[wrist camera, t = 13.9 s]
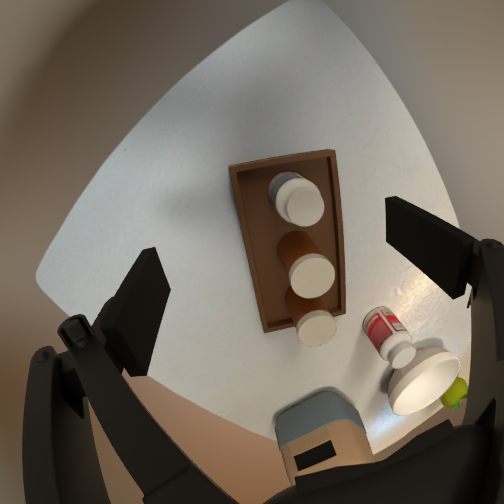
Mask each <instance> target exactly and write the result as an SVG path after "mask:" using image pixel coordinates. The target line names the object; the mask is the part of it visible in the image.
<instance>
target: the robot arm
mask: <svg viewBox="0 0 504 504" xmlns="http://www.w3.org/2000/svg"><path fill="white" fill-rule="evenodd" d="M385 206H386V242H387V243H389V244H390V245H391V246H392V247H394V248H395V249H396V250H397V251H398V252H400V253H401V254H402V255H403V256H404V257H406V258H407V259H408V260H409V261H410V262H412V263H413V264H414V265H415V266H416V267H418V268H419V269H420V270H421V271H422V272H423V273H424V274H426V275H427V276H428V277H429V278H430V279H431V280H432V281H433V282H435V283H436V284H437V285H438V286H439V287H440V288H441V289H442V290H443V291H445V292H446V293H447V294H448V295H449V296H450V297H451V298H452V299H456V298H458V297H460V296H462V295H464V294H465V290H466V285H467V283H468V284H470V285H471V286H472V289H471V293H470V297H469V301H468V305H467V308H469V306H470V305H471V364H470V377H469V387H468V395H467V403H466V410H465V415H464V419H463V421H462V424H461V425H458V426H452V424H451V422H450V421H449V419H447V420H446V421H444V422H442V423H440V424H439V425H437V426H435V427H433V428H431V429H429V430H427V431H425V432H423V433H421V434H419V435H417V436H416V437H415V438H413V439H412V440H411V441H410V442H408V443H407V444H406V445H404V446H403V447H402V448H401V449H399V450H398V451H396V452H395V453H393V454H392V455H391V456H389V457H388V458H386V459H385V460H383V461H379V462H372V463H365V464H356V465H346V466H336V467H333V468H329V469H325V470H321V471H318V472H313V473H309V474H305V475H300V476H296V477H294V479H295V485H293V486H291V487H289V488H286V489H285V490H283V491H281V492H279V493H277V494H276V495H274V496H273V497H271V498H270V499H268V500H267V501H266V502H265V503H263V504H504V245H503V244H502V243H501V242H499V241H496V240H494V239H483V240H482V241H479V240H477V239H475V238H474V237H472V236H470V235H469V234H467V233H465V232H463V231H462V230H460V229H458V228H457V227H455V226H453V225H451V224H450V223H448V222H446V221H444V220H442V219H440V218H439V217H437V216H435V215H433V214H431V213H429V212H427V211H425V210H423V209H421V208H419V207H417V206H415V205H413V204H411V203H409V202H407V201H405V200H403V199H401V198H399V197H397V196H393V197H387V198H385ZM170 291H171V289H170V286H169V284H168V281H167V278H166V276H165V273H164V270H163V268H162V265H161V262H160V259H159V257H158V254H157V251H156V248H155V247H152V248H148V249H144V250H142V252H141V253H140V255H139V256H138V258H137V259H136V261H135V263H134V264H133V266H132V267H131V269H130V271H129V272H128V274H127V276H126V277H125V279H124V280H123V282H122V284H121V285H120V287H119V289H118V291H117V292H116V294H115V296H114V297H111V298H110V299H109V300H108V301H107V302H106V303H105V304H104V306H103V307H102V309H101V312H99V314H98V317H97V318H96V319H95V321H94V323H93V325H92V327H91V326H90V324H89V322H88V320H87V319H86V317H85V316H84V315H82V314H78V315H74V316H72V317H70V318H68V319H66V320H65V321H64V322H63V323H62V324H61V325H60V327H59V328H58V335H59V336H60V338H61V339H62V341H63V342H64V344H65V345H66V347H67V348H68V350H69V351H66V352H63V353H60V354H57V352H56V351H55V350H54V348H53V347H52V346H46V347H43V348H41V349H39V350H38V351H36V352H35V354H34V356H33V357H32V359H31V363H30V368H29V374H28V381H27V388H26V396H25V406H24V418H23V439H22V461H23V481H24V493H25V501H26V504H111V503H110V500H109V497H108V493H107V490H106V487H105V483H104V480H103V476H102V472H101V468H100V464H99V460H98V456H97V451H96V446H95V442H94V436H93V431H92V425H91V419H90V413H89V406H88V400H89V402H90V404H91V406H92V408H93V410H94V412H95V414H96V416H97V418H98V420H99V422H100V424H101V426H102V428H103V430H104V432H105V433H106V435H107V437H108V439H109V441H110V442H111V444H112V446H113V447H114V449H115V451H116V453H117V454H118V456H119V458H120V459H121V461H122V462H123V464H124V466H125V467H126V469H127V470H128V471H129V473H130V474H131V476H132V478H133V479H134V480H135V482H136V483H137V485H138V486H139V487H140V489H141V490H142V492H143V493H144V498H143V499H142V500H143V503H144V504H239V503H238V502H237V501H236V500H235V499H233V498H232V497H231V496H230V495H228V494H227V493H226V492H225V491H224V490H223V489H221V488H220V487H219V486H218V485H217V484H216V483H215V482H214V481H213V480H212V479H210V478H209V477H208V476H207V475H206V474H205V473H204V472H203V471H202V470H201V469H200V468H199V467H198V466H197V465H196V464H195V463H194V462H193V461H192V460H191V459H190V458H189V457H188V456H187V455H186V454H185V453H184V452H183V451H182V450H181V448H180V447H179V446H178V445H177V444H176V443H175V442H174V441H173V440H172V439H171V437H170V436H169V435H168V434H167V433H166V432H165V431H164V430H163V428H162V427H161V426H160V425H159V423H158V422H157V421H156V420H155V419H154V417H153V416H152V415H151V414H150V412H149V411H148V410H147V409H146V407H145V406H144V405H143V403H142V402H141V401H140V399H139V398H138V397H137V395H136V394H135V393H134V391H133V390H132V389H131V387H130V386H129V384H128V383H127V381H126V380H125V379H124V378H123V376H122V371H123V369H124V368H125V369H126V371H127V372H128V374H129V375H130V376H131V377H135V376H147V373H148V369H149V365H150V361H151V357H152V353H153V349H154V346H155V342H156V338H157V335H158V331H159V328H160V324H161V321H162V317H163V314H164V310H165V307H166V304H167V300H168V297H169V294H170Z"/></svg>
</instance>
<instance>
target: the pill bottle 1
mask: <svg viewBox="0 0 504 504" xmlns="http://www.w3.org/2000/svg"><path fill="white" fill-rule="evenodd" d="M268 195H269V199H270V201H271V203H272V204H273V205H274V207H275V209H276V210H277V212H278V213H279V215H280V216H281V217H282V218H283V219H285V220H286V221H288V222H290V223H294V224H296V225H299V226H304V227H305V226H311V225H313V224H315V223H316V222H318V221H319V220H320V218H321V217H322V215H323V212H324V201H323V199H322V197H321V194H320V192H319V190H318V188H317V187H316V186H315V185H314V184H313V183H312V182H310V181H308V180H307V179H305V178H303V177H302V176H300V175H299V174H297V173H294V172H282V173H280V174H278V175H277V176H275V177H274V178H273V179H272V181H271V183H270V185H269V189H268Z"/></svg>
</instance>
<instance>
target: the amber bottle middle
mask: <svg viewBox="0 0 504 504" xmlns="http://www.w3.org/2000/svg"><path fill="white" fill-rule="evenodd" d="M278 252H279V255H280V258H281V260H282V262H283V265H284V267H285V269H286V272H287V274H288V277H289V281H290V284H291V286H292V289H293V290H294V292H295V293H296V294H298V295H299V296H301V297H304V298H315V297H319V296H321V295H323V294H324V293H326V292H327V291H328V290H329V289H330V287H331V286H332V284H333V282H334V279H335V270H334V268H333V266H332V264H331V263H330V261H329V260H328V259H327V258H326V257H325V256H324V255H323V254H322V252H321V251H320V250H319V248H318V247H317V246H316V244H315V243H314V242H313V240H312V239H311V238H310V237H309V235H307V234H306V233H305V232H302V231H292V232H289V233H287V234H286V235H284V236H283V237H282V239H281V240H280V242H279V245H278Z"/></svg>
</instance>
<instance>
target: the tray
mask: <svg viewBox="0 0 504 504" xmlns="http://www.w3.org/2000/svg"><path fill="white" fill-rule="evenodd" d="M229 171H230V176H231V181H232V186H233V190H234V195H235V200H236V205H237V209H238V214H239V219H240V223H241V228H242V233H243V238H244V242H245V247H246V252H247V256H248V261H249V266H250V270H251V275H252V280H253V284H254V289H255V293H256V298H257V303H258V307H259V312H260V316H261V321H262V326H263V330H264V333H267V332H272V331H276V330H281V329H285V328H290V327H294V326H295V325H294V322H293V319H292V316H291V313H290V310H289V307H288V304H287V302H286V297H285V296H286V292H287V290H288V288H289V287H290V286H291V284H290V281H289V277H288V274H287V272H286V269H285V267H284V265H283V262H282V260H281V258H280V255H279V252H278V245H279V242H280V240H281V239H282V237H283V236H284V235H286V234H287V233H289V232H292V231H302V232H305V233H306V234H307V235H309V237H310V238H311V239H312V240H313V242H314V243H315V244H316V246H317V247H318V248H319V250H320V251H321V252H322V254H323V255H324V256H325V257H326V258H327V259H328V260H329V261H330V263H331V264H332V266H333V268H334V270H335V279H334V282H333V284H332V286H331V287H330V289H329V290H328V291H327V292H326V293H324V294H323V295H321V298H322V299H323V301H324V303H325V305H326V307H327V309H328V311H329V312H330V314H331V315H332V316H333V317H335V316H339V315H342V314H346V287H345V255H344V236H343V221H342V209H341V198H340V187H339V178H338V169H337V161H336V153H335V150H332V149H326V150H319V151H311V152H304V153H297V154H291V155H285V156H279V157H273V158H267V159H261V160H256V161H251V162H246V163H241V164H236V165H231V166H229ZM282 172H294V173H297V174H299V175H300V176H302V177H303V178H305V179H307V180H308V181H310V182H312V183H313V184H314V185H315V186H316V187H317V188H318V190H319V192H320V194H321V197H322V199H323V201H324V212H323V215H322V217H321V218H320V220H319V221H318V222H316V223H315V224H313V225H311V226H305V227H304V226H299V225H296V224H294V223H290V222H288V221H286V220H285V219H283V218H282V217H281V216H280V215H279V213H278V212H277V210H276V209H275V207H274V205H273V204H272V203H271V201H270V199H269V195H268V189H269V185H270V183H271V181H272V179H273V178H274V177H275V176H277V175H278V174H280V173H282Z"/></svg>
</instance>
